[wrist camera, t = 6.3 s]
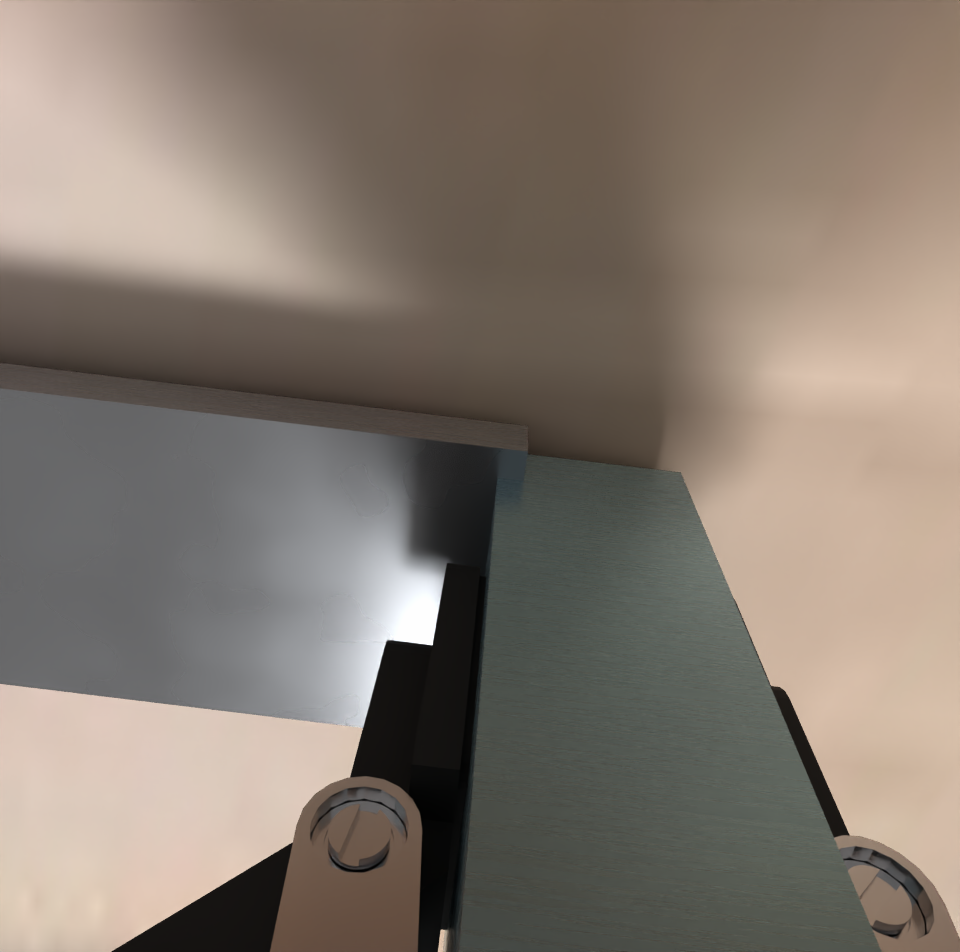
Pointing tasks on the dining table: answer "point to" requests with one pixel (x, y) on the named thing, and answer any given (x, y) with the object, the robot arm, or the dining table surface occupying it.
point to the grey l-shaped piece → (412, 618)
